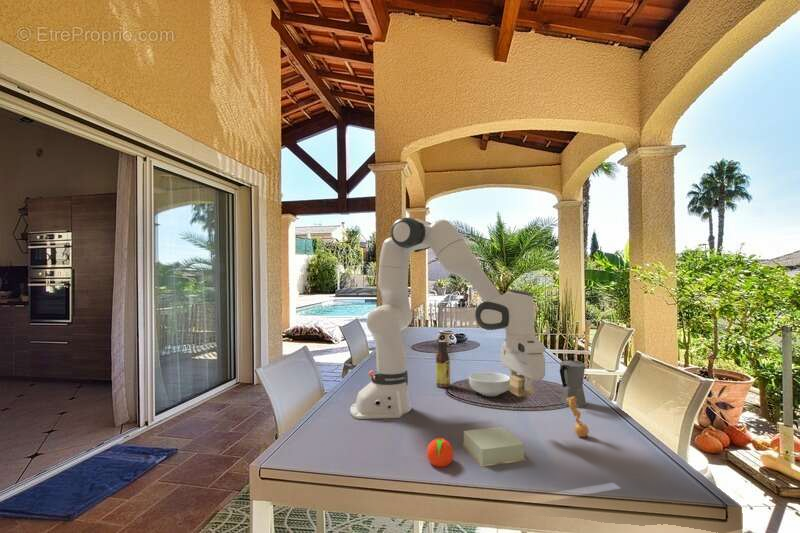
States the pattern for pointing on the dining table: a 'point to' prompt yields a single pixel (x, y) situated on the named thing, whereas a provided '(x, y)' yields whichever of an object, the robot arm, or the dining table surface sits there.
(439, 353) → the sauce bottle
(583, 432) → the figurine
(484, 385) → the cereal bowl
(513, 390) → the oak cube
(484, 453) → the plinth block
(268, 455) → the dining table surface
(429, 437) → the dining table surface
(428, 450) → the clementine
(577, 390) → the coffeepot
